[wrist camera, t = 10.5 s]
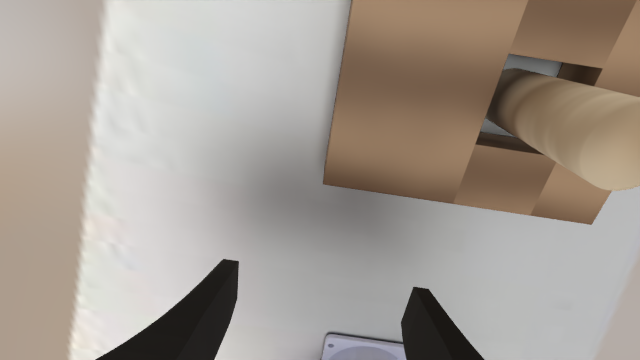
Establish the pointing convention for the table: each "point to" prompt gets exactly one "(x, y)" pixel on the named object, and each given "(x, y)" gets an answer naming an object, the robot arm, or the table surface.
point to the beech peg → (572, 125)
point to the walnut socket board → (468, 98)
